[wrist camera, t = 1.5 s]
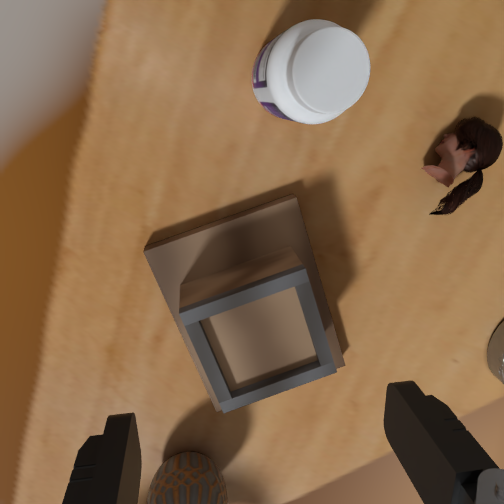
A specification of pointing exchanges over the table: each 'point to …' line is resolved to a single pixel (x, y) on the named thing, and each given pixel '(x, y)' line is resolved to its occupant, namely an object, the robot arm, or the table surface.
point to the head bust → (465, 160)
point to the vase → (188, 481)
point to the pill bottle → (311, 72)
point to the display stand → (249, 303)
